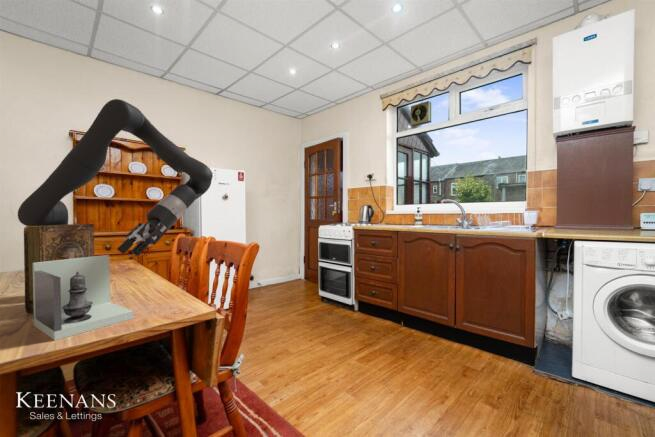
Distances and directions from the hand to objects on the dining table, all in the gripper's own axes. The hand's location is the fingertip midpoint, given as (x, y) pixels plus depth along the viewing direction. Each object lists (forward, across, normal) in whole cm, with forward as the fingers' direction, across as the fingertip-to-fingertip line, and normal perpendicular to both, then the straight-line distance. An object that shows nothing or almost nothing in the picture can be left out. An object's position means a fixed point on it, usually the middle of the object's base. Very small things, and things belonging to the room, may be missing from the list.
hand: (126, 252), depth 81 cm
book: (+18, -24, +7) cm, 31 cm away
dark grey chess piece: (+19, 0, +3) cm, 19 cm away
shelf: (+18, -3, +6) cm, 20 cm away
